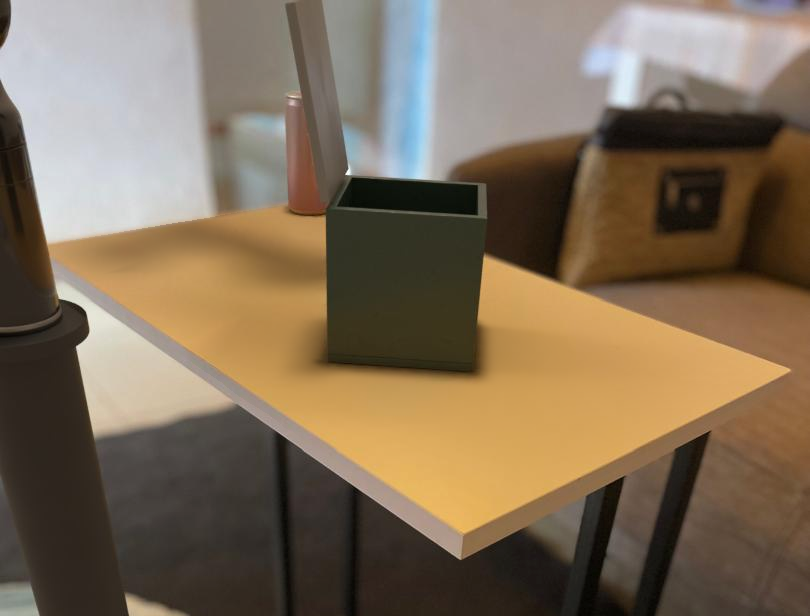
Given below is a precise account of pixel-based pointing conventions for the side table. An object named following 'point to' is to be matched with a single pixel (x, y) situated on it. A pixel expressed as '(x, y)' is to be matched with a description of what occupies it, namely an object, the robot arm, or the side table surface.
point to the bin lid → (318, 93)
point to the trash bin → (404, 271)
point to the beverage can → (300, 160)
